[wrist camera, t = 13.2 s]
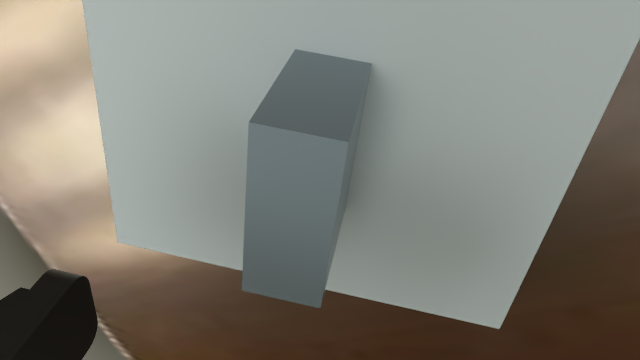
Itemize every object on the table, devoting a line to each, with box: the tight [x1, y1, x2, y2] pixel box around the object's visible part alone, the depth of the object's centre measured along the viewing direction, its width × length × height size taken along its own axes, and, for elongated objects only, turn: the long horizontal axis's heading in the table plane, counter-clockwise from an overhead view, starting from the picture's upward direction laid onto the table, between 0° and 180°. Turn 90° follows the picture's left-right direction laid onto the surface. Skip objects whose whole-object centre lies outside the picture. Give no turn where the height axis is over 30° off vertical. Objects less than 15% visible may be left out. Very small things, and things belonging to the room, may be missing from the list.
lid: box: [82, 0, 640, 329], centre depth 18 cm, size 17×15×7 cm
